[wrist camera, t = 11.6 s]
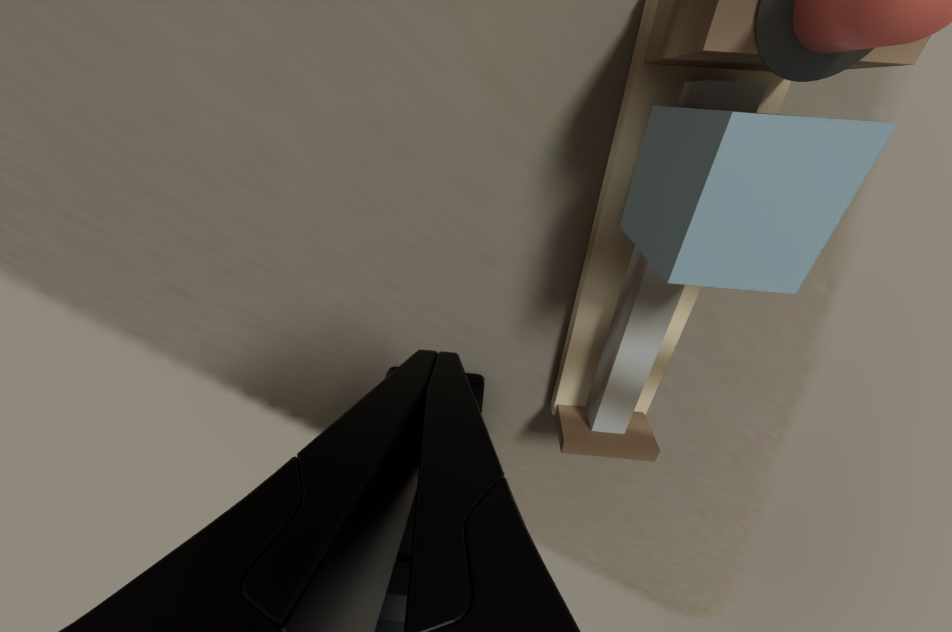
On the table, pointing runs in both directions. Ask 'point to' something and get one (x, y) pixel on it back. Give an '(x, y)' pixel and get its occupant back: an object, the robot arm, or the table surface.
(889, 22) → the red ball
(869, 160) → the light blue block
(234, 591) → the robot arm
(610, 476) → the table surface
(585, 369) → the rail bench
